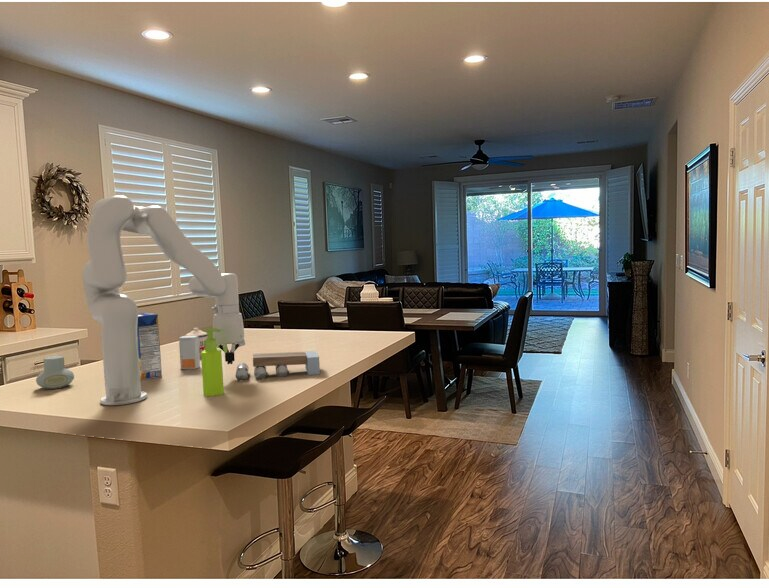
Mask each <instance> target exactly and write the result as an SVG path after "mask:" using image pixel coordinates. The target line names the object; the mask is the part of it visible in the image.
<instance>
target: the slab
mask: <svg viewBox="0 0 769 588" xmlns="http://www.w3.org/2000/svg"><path fill="white" fill-rule="evenodd" d="M305 352H306V351H288V352H285V351H284V352H267V353H266V352H265V353H263V352H262V353H253V354H252V367H253V368H254V367H255V366H266V367H273V366H274V367H275V366H278V365H287V366H296V365H300V366H301V365H305V364H307V355H306V353H305Z"/></svg>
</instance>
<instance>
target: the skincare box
mask: <svg viewBox="0 0 769 588" xmlns="http://www.w3.org/2000/svg"><path fill="white" fill-rule="evenodd" d="M178 342H179V344H178V345H179V364H180V370H197V369H199V368H200V366H201V364H200V363H201V357H199V339H198V336H185V335H183V336H179V337H178ZM196 368H197V369H196Z"/></svg>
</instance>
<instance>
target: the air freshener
mask: <svg viewBox="0 0 769 588" xmlns="http://www.w3.org/2000/svg"><path fill="white" fill-rule="evenodd" d="M65 366H66V365H65V357H64V356H63V355H54V356H48V357H45V358H43V371H41V372H40V373H39V374H38V375H36V379H35V382H36V384H37V385H38V386H39V387H41V388H43V389H48V390H57V388H59V389H62V388H64V387H67V386H68V385H69V384H71V383H72V382H73V381H74V379H75V374H74V372H73V371H72V370H70V369H68V368H66V367H65Z"/></svg>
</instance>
